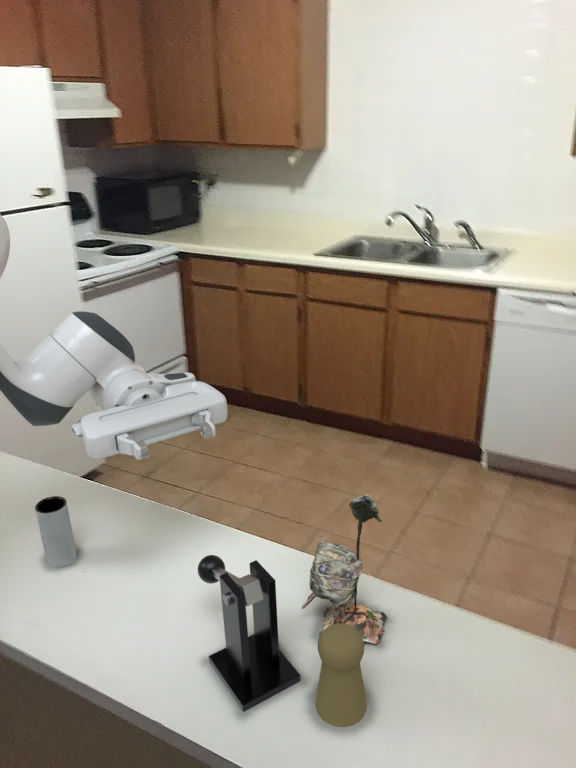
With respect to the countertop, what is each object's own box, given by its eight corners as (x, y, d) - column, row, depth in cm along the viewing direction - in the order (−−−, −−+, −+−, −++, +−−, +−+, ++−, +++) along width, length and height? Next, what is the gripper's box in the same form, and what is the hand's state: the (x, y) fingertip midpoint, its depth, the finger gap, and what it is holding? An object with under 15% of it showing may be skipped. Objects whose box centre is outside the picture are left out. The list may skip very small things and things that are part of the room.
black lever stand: (209, 662, 85) (198, 569, 79) (263, 636, 88) (257, 545, 82) (243, 713, 78) (235, 615, 72) (300, 682, 81) (297, 586, 75)
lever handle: (197, 584, 88) (190, 558, 88) (221, 573, 90) (215, 548, 90) (243, 614, 76) (235, 584, 75) (270, 601, 78) (263, 572, 77)
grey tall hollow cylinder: (83, 555, 105) (72, 500, 101) (61, 572, 102) (49, 516, 97) (62, 547, 107) (51, 492, 103) (40, 563, 104) (28, 508, 99)
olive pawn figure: (370, 690, 80) (372, 619, 75) (362, 733, 75) (363, 660, 70) (321, 680, 82) (320, 610, 77) (309, 722, 76) (307, 650, 72)
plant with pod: (318, 594, 95) (316, 474, 87) (394, 618, 91) (399, 493, 82) (293, 632, 89) (288, 506, 81) (373, 661, 84) (376, 530, 76)
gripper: (64, 404, 91) (95, 444, 80) (200, 369, 101) (244, 401, 90) (71, 444, 94) (102, 489, 83) (203, 407, 103) (247, 442, 92)
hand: (177, 443), depth 86 cm, fingers open, 8 cm apart
